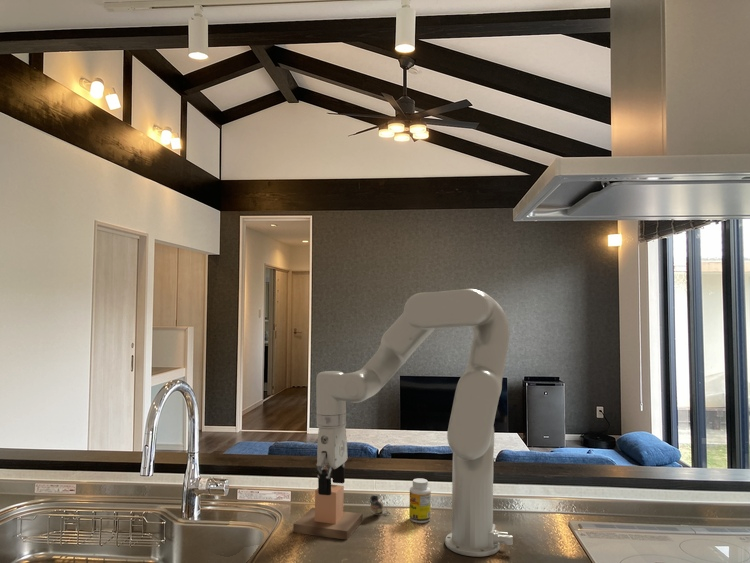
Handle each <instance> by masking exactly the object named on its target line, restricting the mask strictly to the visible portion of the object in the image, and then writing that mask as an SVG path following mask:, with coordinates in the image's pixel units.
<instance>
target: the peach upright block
mask: <svg viewBox="0 0 750 563" xmlns="http://www.w3.org/2000/svg"><path fill="white" fill-rule="evenodd" d="M344 488H345V487H344V485H339V484H331V495H320V494H319V493H318V487H317V488H316V489H314V490H315V491H314V494H315V495H314V508H315V521H316V522H324V523H332V524H336V523H337V522H338V521H339V520H340V519H341V518H342V517H343V511H344V495H345V494H344V492H345V491H344Z"/></svg>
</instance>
